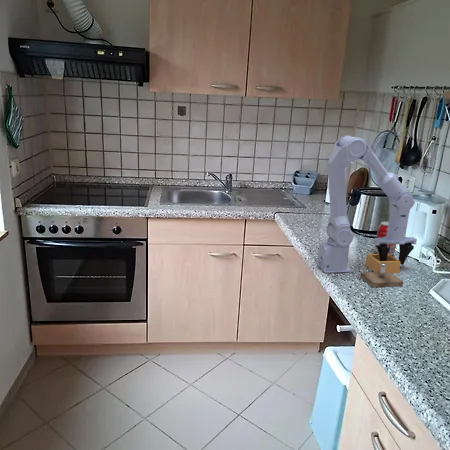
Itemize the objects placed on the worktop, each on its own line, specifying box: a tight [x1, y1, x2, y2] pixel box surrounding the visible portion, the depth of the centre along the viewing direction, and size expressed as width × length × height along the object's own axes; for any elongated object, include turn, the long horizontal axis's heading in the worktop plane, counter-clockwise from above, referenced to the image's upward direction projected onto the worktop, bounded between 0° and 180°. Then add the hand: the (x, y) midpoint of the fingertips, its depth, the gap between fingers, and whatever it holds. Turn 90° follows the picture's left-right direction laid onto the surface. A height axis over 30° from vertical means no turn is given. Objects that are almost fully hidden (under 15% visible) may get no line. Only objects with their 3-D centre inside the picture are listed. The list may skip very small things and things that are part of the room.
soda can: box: [374, 220, 397, 256], centre depth 156 cm, size 7×7×12 cm
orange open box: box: [365, 253, 401, 274], centre depth 142 cm, size 8×8×4 cm
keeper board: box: [360, 263, 404, 288], centre depth 131 cm, size 10×8×6 cm
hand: (391, 264), depth 143 cm, fingers open, 6 cm apart
